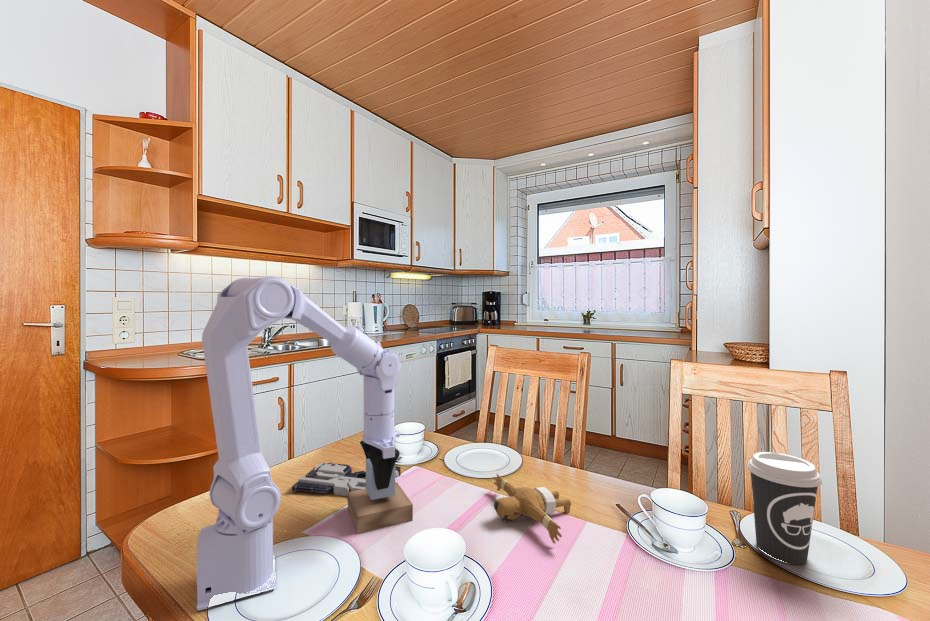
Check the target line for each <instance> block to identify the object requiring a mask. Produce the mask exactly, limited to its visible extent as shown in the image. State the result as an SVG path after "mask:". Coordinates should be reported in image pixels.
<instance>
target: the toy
mask: <svg viewBox="0 0 930 621" xmlns="http://www.w3.org/2000/svg"><path fill="white" fill-rule="evenodd" d="M493 479H494V482H493V484H494V485H495V487H497V488H496V491H500V490H503V491H504V492H506V494H507V495H508V496H507V497H500V498H497V499H496V500H495V501H494V505H493V509H494V510H495V512H496V514H497V516H498V517H499V518H500V519H501V521H505V522H507V523H510V522H511V523H512V522H513V520H516V519H517V518H519V517H520V516H521V514H522V515H524V516H526V517H528V518H531V519H533V520H534V521H536V522H537V523H540V524H541V525H542V526H543V527H544V528H545V529H546V530H547V532H548V535H549V537H550V539H551V542H552V544H556V541H557V542H559V541H560V538H562V537H563V536H562V533H561V532H560V531H559V530H560V529H561V526H560V525H558V523H556V522H555V521H554V520H553V519H552V518H551V517H550V516H549V515H553V514H554V513H555V511H556V508H560V507H563V510H564V513H565V514H570V511H571V506H572V502H571V499H568V498H567V499H559V497H560V492H559V491H557V490H554V491H550V490H549V489H548V488H547V487H545V486H540V487H534V488H532V487H529V486H525V487H515V486H514V485H513V484H512V483H510V482H509V481H508V480H505V479H504V478H503V477H502V476H500V475H499V473H496V477H495V476H494V477H493Z"/></svg>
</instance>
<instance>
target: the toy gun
mask: <svg viewBox="0 0 930 621" xmlns="http://www.w3.org/2000/svg"><path fill="white" fill-rule="evenodd" d="M352 470H353V469H352V466H350V465H349V464H345V463H343V464H342V463H337V462H336V463H333V462H328V463H325V462H323V461H322V462H321V463H319V464H318V465H317V466H314V467H313V468H312V469H311V470H310V471H308V472H307V473H306V474H305V477H304V476H301V477H299V478H298V481H297V482H295V483H294V484H293V485H292V486H291V491H292V492H298V491H300V492H305V493H306V492H307V493H319V494H326V495H328V494H331V493H333V495H335V496H339V497H340V496H341V497H342V496H343V497H348V492H351V491H356V490H361V489H366V470H365V471H364V470H359V471H355V472H353V471H352ZM399 475H400V476H401V467H400V466H396V465H395V478H396V479H398V478H397V477H400V476H399Z"/></svg>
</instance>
